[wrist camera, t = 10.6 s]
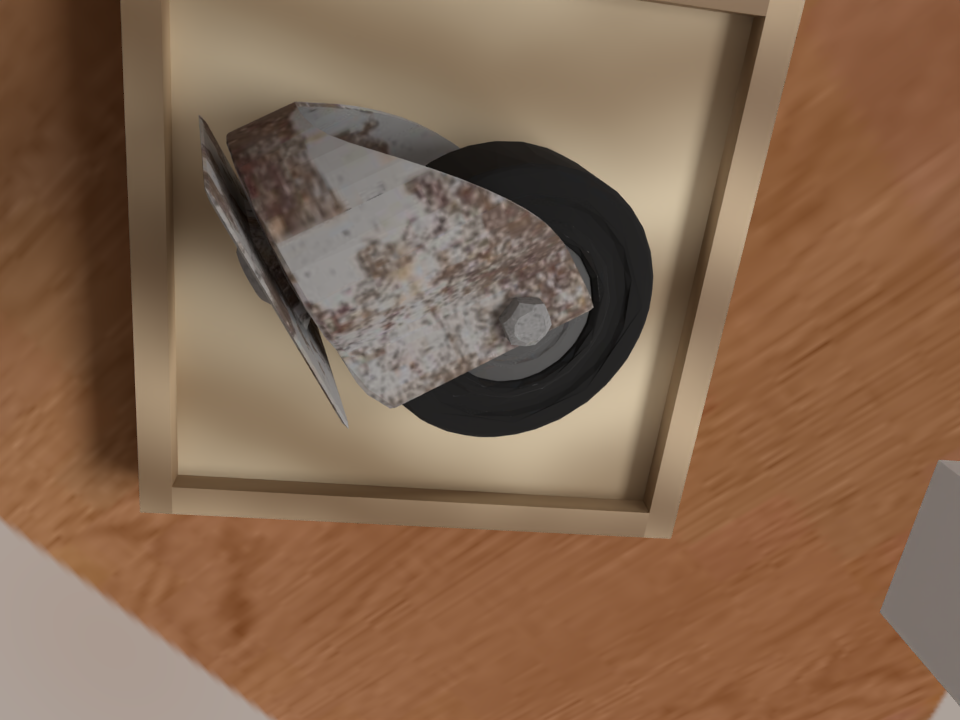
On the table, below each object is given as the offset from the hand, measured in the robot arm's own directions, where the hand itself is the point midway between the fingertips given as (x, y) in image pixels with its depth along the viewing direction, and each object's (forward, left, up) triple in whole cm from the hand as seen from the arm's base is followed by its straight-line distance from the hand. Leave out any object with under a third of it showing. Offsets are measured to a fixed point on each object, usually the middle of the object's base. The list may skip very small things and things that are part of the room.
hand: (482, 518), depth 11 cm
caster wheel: (-1, 0, -15) cm, 15 cm away
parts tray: (0, 0, -16) cm, 16 cm away
